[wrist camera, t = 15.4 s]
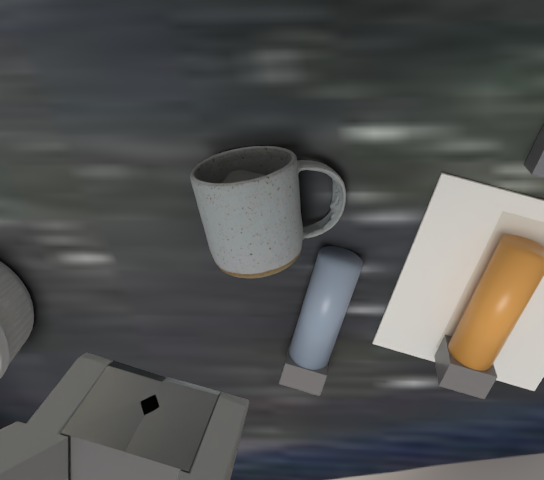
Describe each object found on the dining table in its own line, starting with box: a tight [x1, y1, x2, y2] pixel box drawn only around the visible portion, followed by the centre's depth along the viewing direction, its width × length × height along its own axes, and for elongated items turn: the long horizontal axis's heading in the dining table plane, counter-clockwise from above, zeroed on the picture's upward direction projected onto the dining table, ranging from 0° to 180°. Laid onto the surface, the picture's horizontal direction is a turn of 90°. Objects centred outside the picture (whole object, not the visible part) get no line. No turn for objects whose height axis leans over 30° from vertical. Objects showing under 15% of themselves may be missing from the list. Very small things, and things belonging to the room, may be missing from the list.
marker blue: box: [279, 246, 363, 396], centre depth 41 cm, size 12×4×4 cm, turn 168°
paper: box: [373, 172, 544, 391], centre depth 39 cm, size 16×14×1 cm
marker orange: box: [434, 235, 544, 399], centre depth 38 cm, size 12×4×4 cm, turn 168°
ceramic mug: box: [190, 146, 346, 278], centre depth 35 cm, size 10×8×7 cm
